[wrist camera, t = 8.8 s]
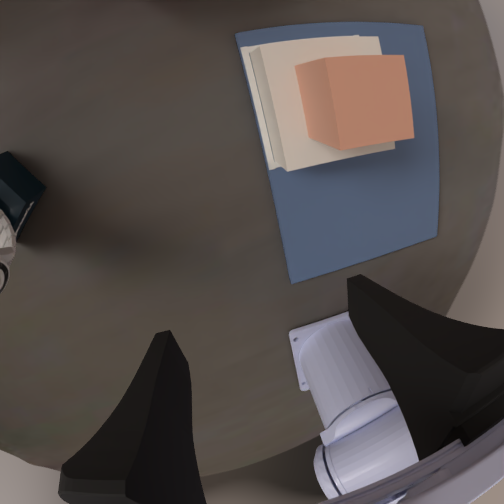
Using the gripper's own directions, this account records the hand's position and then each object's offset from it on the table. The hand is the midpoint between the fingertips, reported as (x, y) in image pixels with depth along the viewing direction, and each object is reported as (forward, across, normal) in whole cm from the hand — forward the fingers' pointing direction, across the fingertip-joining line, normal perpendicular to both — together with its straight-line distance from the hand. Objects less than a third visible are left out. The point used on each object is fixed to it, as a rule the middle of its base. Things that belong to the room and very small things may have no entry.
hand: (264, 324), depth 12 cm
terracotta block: (+7, -7, -7) cm, 12 cm away
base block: (+10, -7, -7) cm, 14 cm away
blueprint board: (+10, -10, -3) cm, 15 cm away
